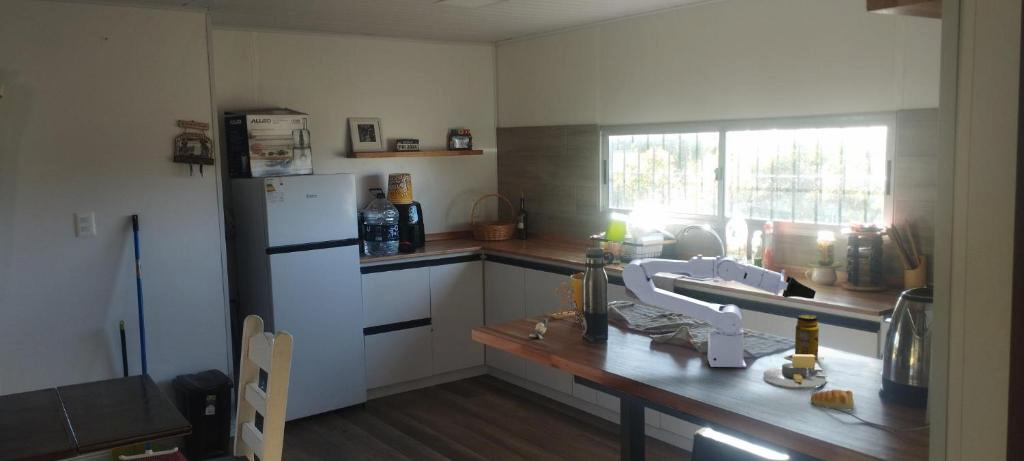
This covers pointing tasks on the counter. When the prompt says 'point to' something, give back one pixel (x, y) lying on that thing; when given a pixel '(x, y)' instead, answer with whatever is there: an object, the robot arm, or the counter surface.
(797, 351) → the condiment
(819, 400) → the pastry
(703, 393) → the counter surface
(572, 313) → the gingerbread man figurine
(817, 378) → the post plate
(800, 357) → the multicoloured piece
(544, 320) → the grey cream animal figurine
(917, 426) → the counter surface
